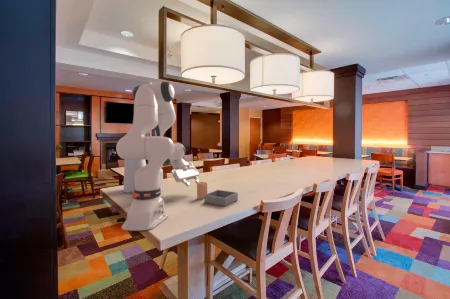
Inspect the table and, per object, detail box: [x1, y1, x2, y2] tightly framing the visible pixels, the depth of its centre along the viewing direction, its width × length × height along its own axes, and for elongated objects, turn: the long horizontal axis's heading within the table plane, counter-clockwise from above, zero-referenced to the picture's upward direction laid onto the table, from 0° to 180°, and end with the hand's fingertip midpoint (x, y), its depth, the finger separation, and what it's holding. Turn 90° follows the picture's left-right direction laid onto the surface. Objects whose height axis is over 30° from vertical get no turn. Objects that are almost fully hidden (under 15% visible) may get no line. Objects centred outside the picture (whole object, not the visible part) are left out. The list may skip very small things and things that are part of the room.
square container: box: [196, 181, 208, 201], centre depth 143 cm, size 4×4×10 cm
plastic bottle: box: [123, 159, 147, 194], centre depth 163 cm, size 15×15×28 cm
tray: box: [203, 189, 239, 207], centre depth 136 cm, size 14×14×5 cm
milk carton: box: [159, 168, 164, 193], centre depth 158 cm, size 7×7×19 cm
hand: (193, 184), depth 146 cm, fingers open, 8 cm apart
